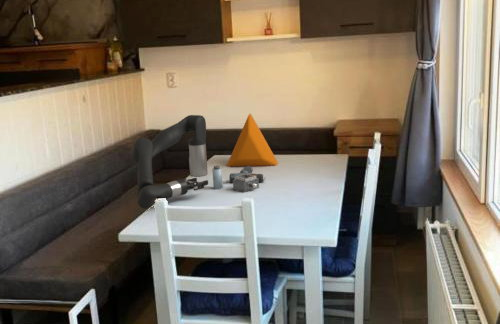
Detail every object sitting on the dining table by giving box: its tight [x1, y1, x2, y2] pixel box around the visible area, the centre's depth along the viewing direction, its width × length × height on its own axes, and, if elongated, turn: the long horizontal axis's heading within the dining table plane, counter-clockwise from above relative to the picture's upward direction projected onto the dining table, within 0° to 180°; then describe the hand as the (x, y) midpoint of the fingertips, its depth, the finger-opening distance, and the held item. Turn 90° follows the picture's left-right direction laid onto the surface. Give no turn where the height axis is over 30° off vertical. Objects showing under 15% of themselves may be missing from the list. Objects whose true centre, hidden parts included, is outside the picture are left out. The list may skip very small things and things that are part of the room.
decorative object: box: [226, 113, 279, 167], centre depth 322 cm, size 30×15×30 cm, turn 82°
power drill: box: [229, 166, 267, 184], centre depth 294 cm, size 5×19×20 cm
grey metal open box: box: [232, 174, 260, 193], centre depth 274 cm, size 11×10×6 cm
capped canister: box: [211, 165, 224, 190], centre depth 278 cm, size 5×5×11 cm
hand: (201, 181), depth 271 cm, fingers open, 8 cm apart
